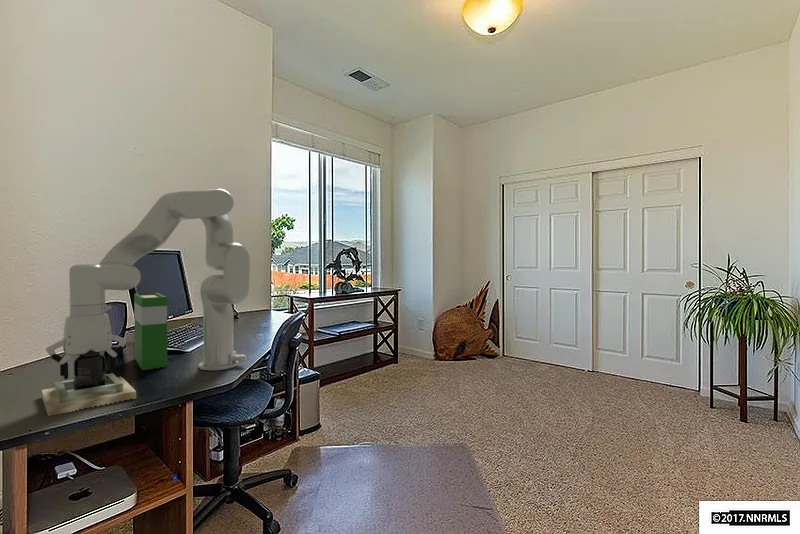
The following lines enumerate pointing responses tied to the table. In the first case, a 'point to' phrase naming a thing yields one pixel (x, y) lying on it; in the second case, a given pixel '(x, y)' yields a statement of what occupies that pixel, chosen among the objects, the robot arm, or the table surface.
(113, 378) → the socket board
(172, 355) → the table surface
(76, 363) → the supplement bottle
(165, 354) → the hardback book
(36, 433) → the table surface
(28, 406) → the table surface
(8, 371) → the table surface
